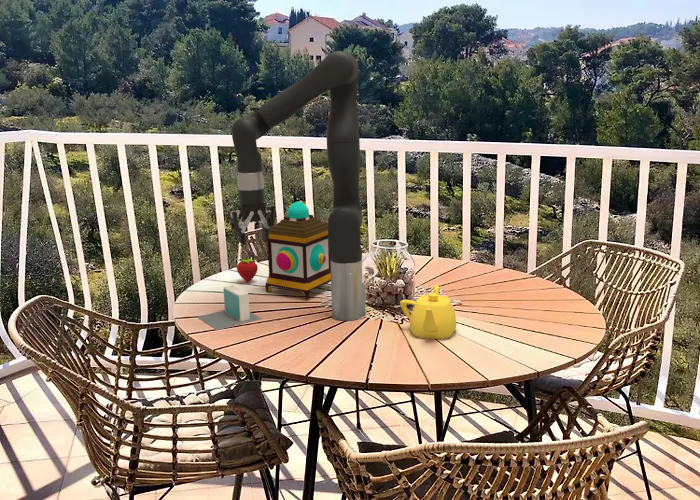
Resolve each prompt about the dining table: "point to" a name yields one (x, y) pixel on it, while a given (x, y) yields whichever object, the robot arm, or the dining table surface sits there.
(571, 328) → the dining table surface
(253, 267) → the strawberry
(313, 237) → the decorative lantern
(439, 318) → the teapot
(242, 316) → the block
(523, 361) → the dining table surface
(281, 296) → the dining table surface
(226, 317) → the mat
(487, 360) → the dining table surface
